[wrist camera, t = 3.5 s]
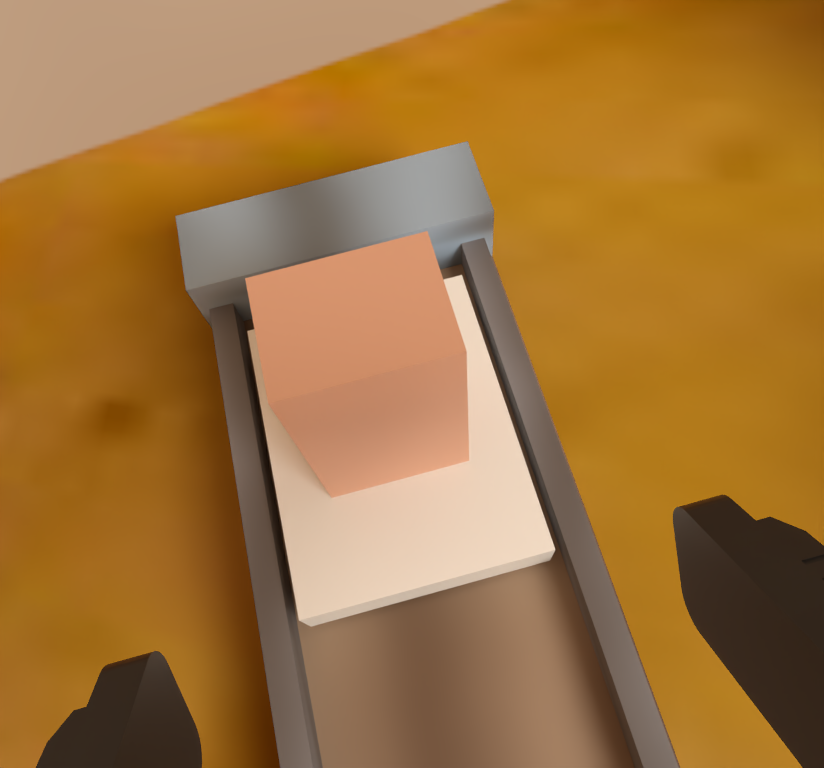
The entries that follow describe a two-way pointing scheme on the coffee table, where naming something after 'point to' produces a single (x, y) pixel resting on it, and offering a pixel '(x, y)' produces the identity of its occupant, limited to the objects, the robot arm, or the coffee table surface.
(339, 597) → the carriage
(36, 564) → the coffee table surface
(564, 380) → the coffee table surface
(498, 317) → the rail
